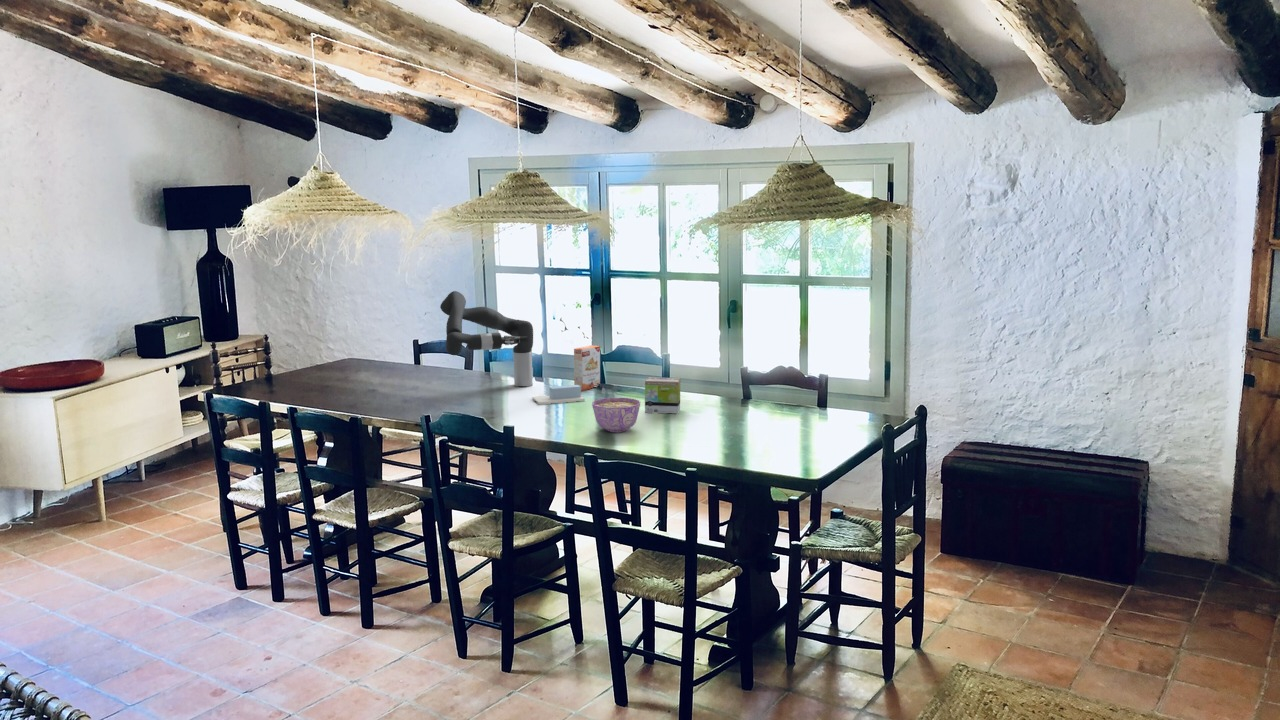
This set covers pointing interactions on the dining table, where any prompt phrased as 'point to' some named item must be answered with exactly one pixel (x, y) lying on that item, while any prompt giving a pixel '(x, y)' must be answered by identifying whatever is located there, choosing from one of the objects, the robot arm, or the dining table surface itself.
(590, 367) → the cracker box
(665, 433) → the dining table surface
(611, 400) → the bowl of food
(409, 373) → the dining table surface
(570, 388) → the blue block
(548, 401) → the cream tile
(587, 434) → the dining table surface
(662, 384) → the tea box
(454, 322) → the robot arm
